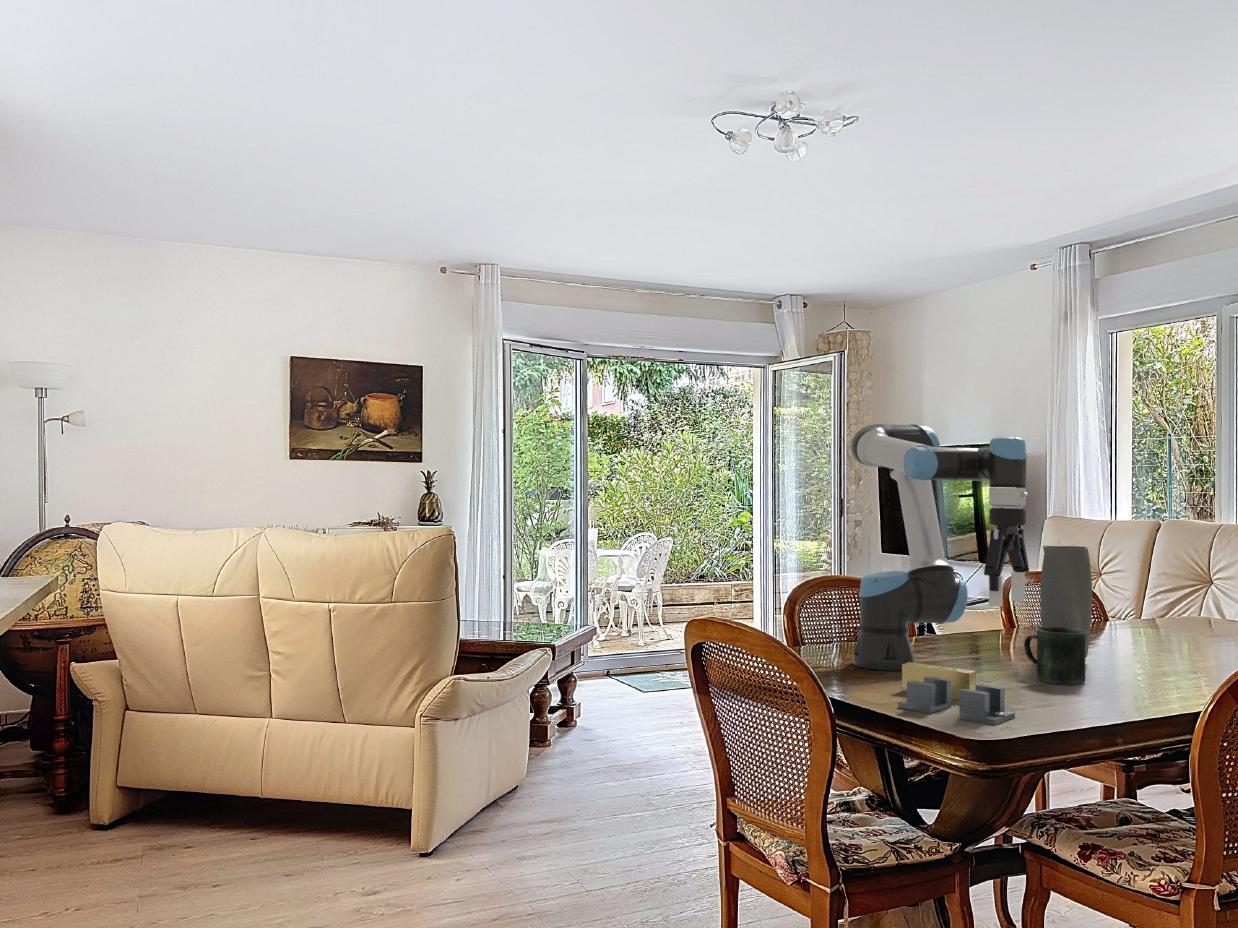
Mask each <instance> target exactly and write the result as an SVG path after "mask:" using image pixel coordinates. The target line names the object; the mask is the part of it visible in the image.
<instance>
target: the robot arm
mask: <svg viewBox="0 0 1238 928" xmlns="http://www.w3.org/2000/svg"><path fill="white" fill-rule="evenodd" d="M1026 448H1027V447H1026V441H1025V439H1024V438H1021V437H994V438H993V437H992V439H991V440H990V441H989V447H984V448H983V447H942V446H941V444H940V439H939V438H938V435H937V434H936V432H935V431H934V429H932V428H930V427H929V426H928V425H927V426H926V425H918V424H916V423H915V424H885V423H884V424H883V423H876V424H870V425H866V426H865V427H862V428H860V429H859V430H858V431H857V432H856V433H854V436H853V437H852V440H851V443H850V451H851V453H852V457H854V459H855V461H857V462H858V463H859V464H862V465H864V466H868V467H872V468H875V467H876V468H887V469H889V476H890V478H891V479H892V480H895V482H897V488H898V494H899V500H900V506H901V514H902V520H903V522H904V523H903V524H904V530H905V536H906V542H907V547H908V555H909V560H910V565H911V566H910V568H909V569H908V570H907V571H902V570H894V571H893V570H892V571H887V570H886V571H880V572H874V573H873V572H872V573H869V574H866V575H864V576H863V577H862V579H861V580H860V587H859V594H858V595H859V635H858V638H857V642H856V645H855V646H854V647H855V648H854V650H853V653H852V665H854V666H856V667H859V668H864V669H869V670H876V671H877V670H879V671H902V664H905V663H908V662H911V663H916V658H915V655H914V651H913V649H912V645H911V642H910V639H909V635H908V634H909V632H908V630H909V629H908V628H909V624H939V625H941V624H945V623H953V622H957V621H958V620H960V619H961V618H962V617H963V615H964V613H965V610H966V608H967V604H968V598H969V597H968V596H969V595H968V593H969V592H968V587H967V584H966V582H965V581H964V578H962V577H960V576H957V575H955V571H954V567H953V566H952V565H951V564H950V563H948V562H947V561H946V556H945V550H944V545H943V541H942V540H943V538H942V534H941V529H940V523H939V522H940V521H939V518H938V511H937V505H936V501H935V496H934V490H933V484H932V481H934V480H935V481H945V480H946V481H972V482H985V481H989V485H988V486H989V489H988V490H989V491H988V505H989V506H991V507H990V509H989V511H988V516H989V517H988V522H989V524H990V525H991V526H996V529H991V530H990V535H989V544H988V548H987V549H988V550H987V555H986V560H985V563H984V564H985V565H984V569H983V570H984V571H983V574H984V576H988V606H989V607H997V608H998V607H999V608H1003V603H1004V602H1003V599H1004V598H1003V593H1004V592H1003V588H1004V587H1003V586H1004V585H1003V583H1004V580H1003V578H1004V577H1003V576H1002V571H1003V569H1004V565H1005V563H1006V562H1005V561H1006V558H1007V555H1008V558H1009V561H1010V565H1011V568H1012V571H1011V572H1010V574H1011V575H1010V581H1011V583H1010V592H1011V593H1010V600H1011V601H1012V602H1021V603H1023V602H1025V593H1026V591H1025V590H1026V589H1025V586H1026V584H1025V581H1026V578H1025V576H1026V575H1025V573H1029V572H1030V568H1029V561H1028V555H1027V549H1026V544H1025V536H1024V535H1025V534H1024V529H1023V528H1018V526H1019V527H1021V526H1025V525H1026V524H1027V522H1026V521H1027V520H1026V519H1027V514H1026V513H1027V512H1026V509H1025V508H1024V507H1025V506H1026V503H1027V502H1026V501H1027V500H1026V499H1027V497H1028V496H1029V494H1028V492H1027V490H1026V486H1027V458H1028V455H1027V453H1026V452H1027V449H1026Z"/></svg>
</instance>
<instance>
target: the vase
mask: <svg viewBox="0 0 1238 928" xmlns="http://www.w3.org/2000/svg"><path fill="white" fill-rule="evenodd" d="M1042 549H1043V560H1042V566H1041V573H1040V585H1039V586H1040V589H1039V592H1040V593H1039V595H1040V596H1039V597H1040V598H1039V600H1040V602H1039V603H1040V605H1039V606H1040V607H1039V609H1040V627H1066V628H1075V629H1081V630H1084V631H1087V634H1086V635H1085V659H1086V658H1087V657H1088V655H1089V654H1088V653H1089V644H1090V635H1091V629H1092V628H1091V627H1092V616H1093V615H1092V612H1093V577H1092V576H1093V575H1092V569H1091V568H1092V566H1091V559H1090V558H1091V557H1090V553H1089V547H1088V546H1079V545H1078V546H1076V545H1075V546H1074V545H1068V546H1067V545H1043V546H1042Z"/></svg>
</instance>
